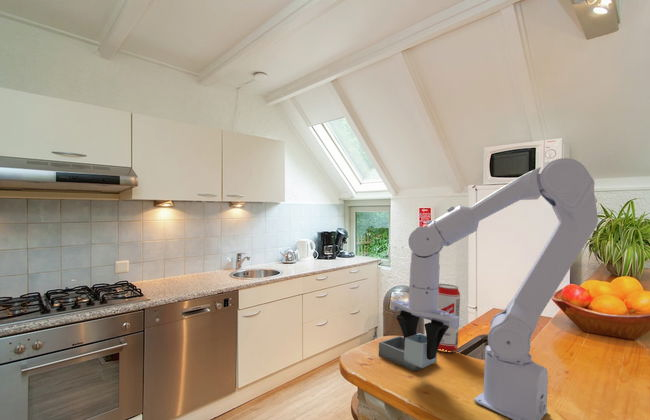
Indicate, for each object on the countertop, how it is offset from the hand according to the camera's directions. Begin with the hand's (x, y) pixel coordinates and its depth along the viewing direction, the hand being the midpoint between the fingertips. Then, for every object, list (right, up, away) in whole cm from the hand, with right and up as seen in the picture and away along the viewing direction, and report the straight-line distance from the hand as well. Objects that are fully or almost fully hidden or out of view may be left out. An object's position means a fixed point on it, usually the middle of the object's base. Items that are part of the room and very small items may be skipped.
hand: (420, 353), depth 66 cm
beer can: (+11, -7, +17) cm, 21 cm away
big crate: (0, -5, +10) cm, 11 cm away
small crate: (0, -1, 0) cm, 1 cm away
